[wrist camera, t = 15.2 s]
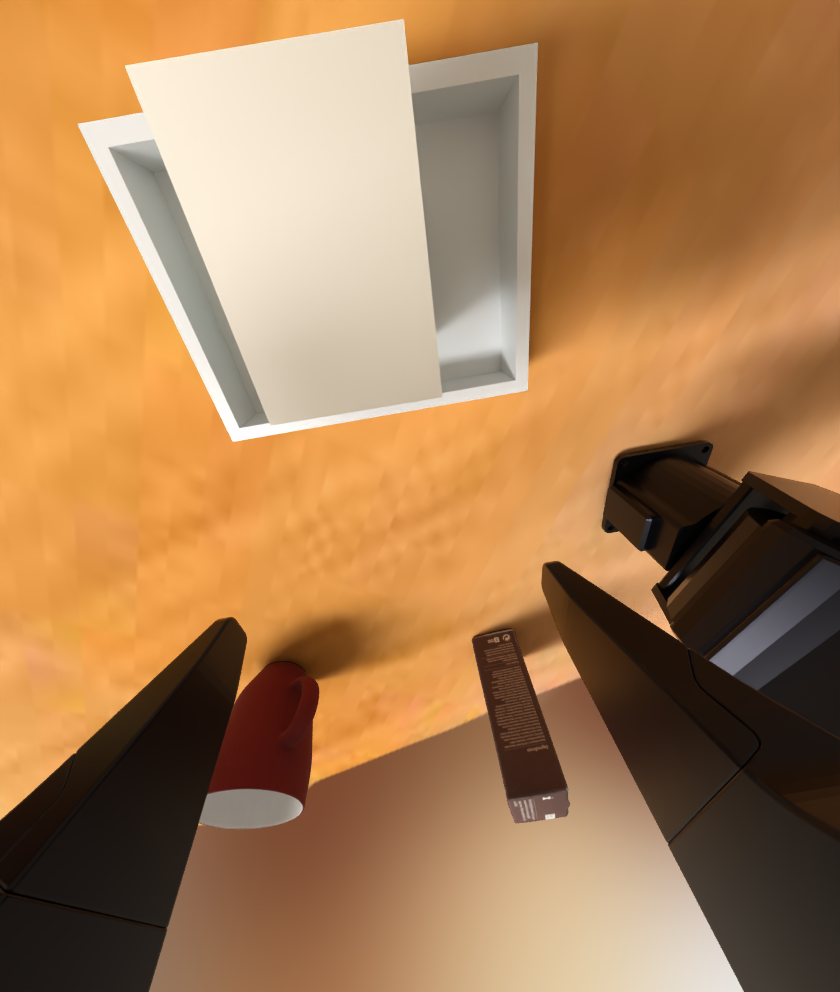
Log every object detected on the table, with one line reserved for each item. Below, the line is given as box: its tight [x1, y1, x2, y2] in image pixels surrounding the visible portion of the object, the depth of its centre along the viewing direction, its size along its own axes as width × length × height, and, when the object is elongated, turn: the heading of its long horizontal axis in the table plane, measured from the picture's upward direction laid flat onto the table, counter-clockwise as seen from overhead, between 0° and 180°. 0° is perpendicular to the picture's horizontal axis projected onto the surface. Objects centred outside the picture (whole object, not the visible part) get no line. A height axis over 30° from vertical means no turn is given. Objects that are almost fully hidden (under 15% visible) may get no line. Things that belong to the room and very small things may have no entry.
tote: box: [78, 42, 538, 442], centre depth 14 cm, size 15×11×3 cm
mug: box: [199, 662, 319, 829], centre depth 27 cm, size 11×8×10 cm
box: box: [472, 629, 570, 823], centre depth 27 cm, size 6×4×12 cm
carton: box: [125, 19, 443, 426], centre depth 9 cm, size 6×4×5 cm
